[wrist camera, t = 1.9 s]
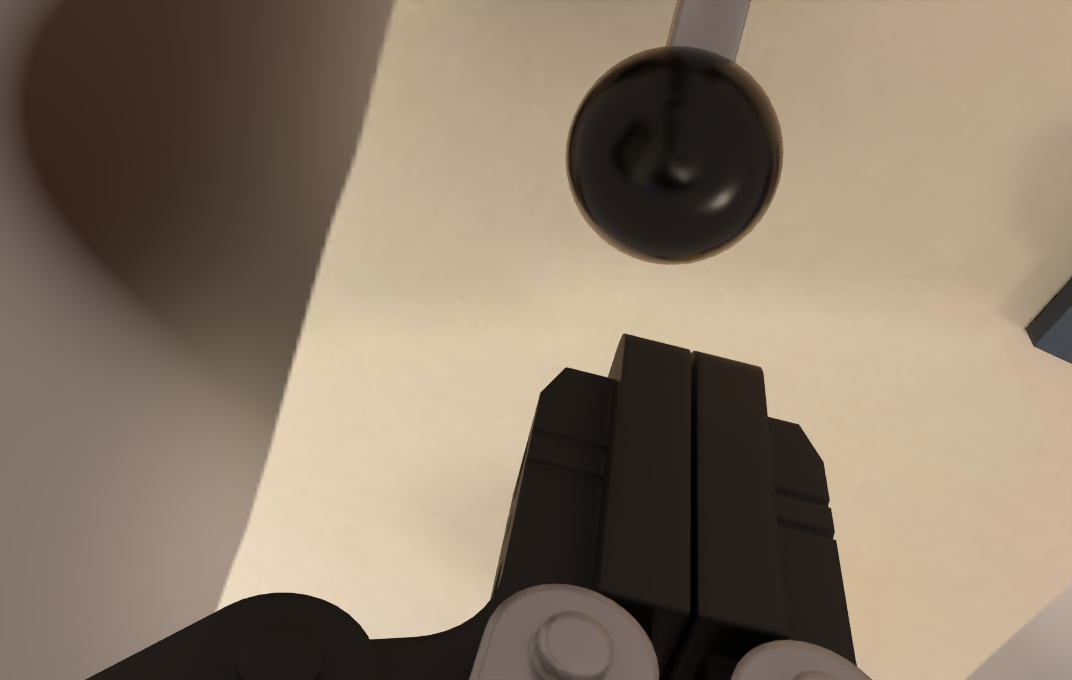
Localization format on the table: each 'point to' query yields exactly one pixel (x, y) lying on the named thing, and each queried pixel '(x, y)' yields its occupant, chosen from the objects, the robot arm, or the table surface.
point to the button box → (1055, 326)
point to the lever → (677, 143)
